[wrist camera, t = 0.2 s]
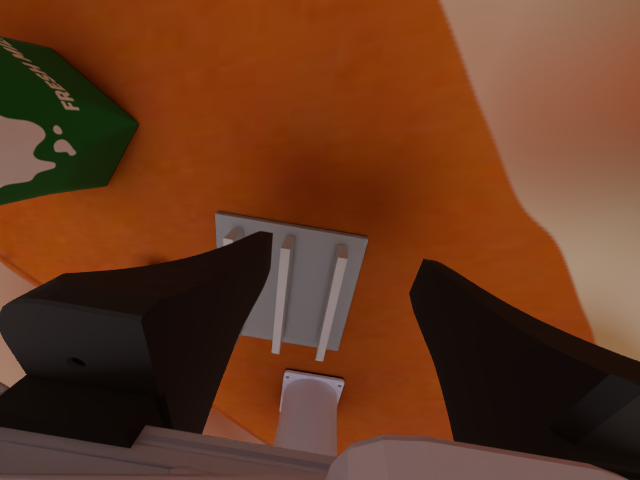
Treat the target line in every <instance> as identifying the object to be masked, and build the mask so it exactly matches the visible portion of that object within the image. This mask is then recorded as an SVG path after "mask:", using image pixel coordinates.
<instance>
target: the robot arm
mask: <svg viewBox="0 0 640 480" xmlns="http://www.w3.org/2000/svg"><path fill="white" fill-rule="evenodd" d="M272 242H273V233H270V232H264V231H258V232H255V233H253V234H251V235H249V236H246V237H244V238H242V239H240V240H237V241H235V242H233V243H230V244H228V245H225V246H222V247H220V248H217V249H215V250H212V251H209V252H206V253H203V254H199V255H196V256H192V257H188V258H185V259H180V260H175V261H170V262H165V263H161V264H155V265H149V266H142V267H135V268H127V269H118V270H107V271H94V272H80V273H65V274H62V275H60V276H58V277H56V278H54V279H52V280H51V281H49V282H47V283H45V284H43V285H41V286H39V287H37V288H35V289H33V290H31V291H29V292H28V293H26V294H24V295H22V296H20V297H18V298H16V299H14V300H12V301H11V302H9V303H7V304H6V305H5V306H3V307H2V310H1V311H0V332H1V335H2V337H3V339H4V341H5V342H6V344H7V345H8V347H9V348H10V350H11V351H12V353H13V354H14V356H15V358H16V359H17V361H18V362H19V364H20V365H21V367H22V368H23V370H24V371H25V373H26V374H27V375H26V376H25V377H23V378H22V379H21V380H19V381H18V382H17V383H16V384H14V385H13V386H12V387H11V388H9V387H8V386H6V385H5V384H3V383H1V382H0V480H640V362H639V361H636V360H634V359H630V358H628V357H625V356H623V355H620V354H618V353H615V352H612V351H610V350H607V349H605V348H602V347H600V346H597V345H595V344H592V343H590V342H587V341H585V340H582V339H580V338H578V337H575V336H573V335H571V334H568V333H566V332H564V331H562V330H560V329H557V328H555V327H553V326H551V325H548V324H546V323H544V322H542V321H540V320H538V319H536V318H534V317H532V316H530V315H528V314H526V313H524V312H522V311H520V310H518V309H517V308H515V307H513V306H511V305H509V304H507V303H506V302H504V301H502V300H500V299H499V298H497V297H495V296H494V295H492V294H490V293H488V292H487V291H485V290H484V289H482V288H480V287H479V286H477V285H476V284H474V283H472V282H471V281H469V280H468V279H466V278H465V277H463V276H461V275H460V274H458V273H457V272H455V271H454V270H452V269H450V268H449V267H447V266H445V265H443V264H442V263H439V262H437V261H433V260H427V259H423V261H422V264H421V266H420V269H419V271H418V273H417V276H416V278H415V281H414V283H413V285H412V288H411V290H410V293H409V294H410V299H411V303H412V307H413V311H414V314H415V317H416V319H417V322H418V324H419V327H420V329H421V332H422V334H423V337H424V339H425V342H426V344H427V346H428V349H429V351H430V354H431V356H432V359H433V362H434V365H435V368H436V371H437V375H438V378H439V382H440V385H441V389H442V393H443V396H444V400H445V404H446V408H447V412H448V416H449V421H450V425H451V430H452V434H453V439H454V441H450V440H444V439H438V438H432V437H426V436H417V435H380V436H376V437H373V438H369V439H366V440H362V441H358V442H355V443H352V444H351V445H350V446H349V447H348V448H347V449H346V450H345V451H344V452H343V453H342V454H341V455H339V456H338V457H337V405H338V402H339V399H340V396H341V393H342V389H343V386H344V380H343V379H341V378H334V377H328V376H322V375H316V374H310V373H304V372H298V371H292V370H286V371H285V372H284V378H283V386H282V393H281V401H280V409H279V411H280V417H279V422H278V427H277V431H276V436H275V441H274V446H269V445H263V444H256V443H251V442H245V441H238V440H232V439H226V438H220V437H214V436H208V435H202V432H203V429H204V427H205V424H206V421H207V418H208V415H209V412H210V409H211V407H212V404H213V401H214V399H215V396H216V393H217V390H218V388H219V385H220V382H221V380H222V377H223V374H224V372H225V369H226V367H227V364H228V361H229V359H230V356H231V354H232V351H233V349H234V346H235V344H236V341H237V339H238V337H239V334H240V332H241V330H242V328H243V326H244V324H245V322H246V320H247V318H248V316H249V314H250V312H251V310H252V309H253V307H254V305H255V303H256V301H257V299H258V297H259V296H260V294H261V292H262V290H263V288H264V286H265V283H266V281H267V278H268V275H269V272H270V269H271V256H272Z"/></svg>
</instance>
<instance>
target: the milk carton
mask: <svg viewBox="0 0 640 480" xmlns="http://www.w3.org/2000/svg"><path fill="white" fill-rule="evenodd" d="M137 126H138V123H137V122H136V121H135V120H134V119H133V118H131V117H130V116H129V115H128V114H127V113H126V112H124V111H123V110H122V109H121V108H120V107H119V106H117V105H116V104H115V103H114V102H113V101H112V100H110V99H109V98H108V97H107V96H106V95H105V94H103V93H102V92H101V91H100V90H99V89H98V88H96V87H95V86H94V85H93V84H92V83H91V82H89V81H88V80H87V79H86V78H85V77H84V76H82V75H81V74H80V73H79V72H78V71H77V70H75V69H74V68H73V67H72V66H71V65H70V64H68V63H67V62H66V61H65V60H64V59H63V58H61V57H60V56H59V55H58V54H57V53H56V52H54V51H53V50H52V49H51V48H48V47H44V46H40V45H35V44H31V43H27V42H22V41H18V40H14V39H10V38H5V37H1V36H0V205H3V204H8V203H12V202H17V201H21V200H26V199H30V198H35V197H39V196H44V195H49V194H55V193H62V192H69V191H76V190H83V189H90V188H96V187H103V186H107V184H108V182H109V180H110V178H111V176H112V174H113V172H114V170H115V168H116V166H117V165H118V163H119V161H120V159H121V157H122V155H123V153H124V151H125V149H126V147H127V145H128V143H129V142H130V140H131V138H132V136H133V134H134V132H135V130H136V128H137Z"/></svg>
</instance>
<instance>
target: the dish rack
mask: <svg viewBox="0 0 640 480" xmlns="http://www.w3.org/2000/svg"><path fill="white" fill-rule="evenodd" d="M215 222H216V240H217V248H220V247H222V246H225V245H228V244H230V243H233V242H235V241H237V240H240V239H242V238H244V237H246V236H249V235H251V234H253V233H255V232H258V231H264V232H270V233H273V242H272V256H271V269H270V272H269V275H268V278H267V281H266V283H265V286H264V288H263V290H262V292H261V294H260V296H259V297H258V299H257V301H256V303H255V305H254V307H253V309H252V310H251V312H250V314H249V316H248V318H247V320H246V322H245V324H244V326H243V328H242V330H241V332H240V334H239V337H240V335H244V336H250V337H256V338H262V339H268V340H273V343H272V353H274V354H279V352H280V348H281V345H282V342H286V343H292V344H298V345H304V346H310V347H316V348H317V351H316V360H317V361H323V359H324V355H325V351H326V349H328V350H334V351H338V348H339V344H340V341H341V337H342V334H343V330H344V326H345V323H346V319H347V315H348V312H349V308H350V304H351V301H352V297H353V294H354V290H355V286H356V283H357V279H358V275H359V272H360V268H361V264H362V261H363V257H364V254H365V250H366V246H367V243H368V237H367V236H361V235H355V234H349V233H343V232H337V231H331V230H325V229H319V228H313V227H307V226H301V225H296V224H290V223H284V222H278V221H272V220H266V219H260V218H254V217H248V216H242V215H236V214H230V213H224V212H217V213H215ZM239 337H238V339H239ZM238 339H237V341H236V344H237V342H238ZM236 344H235V346H236ZM235 346H234V347H235Z"/></svg>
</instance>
